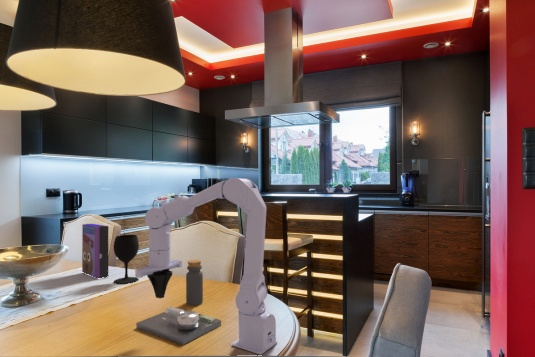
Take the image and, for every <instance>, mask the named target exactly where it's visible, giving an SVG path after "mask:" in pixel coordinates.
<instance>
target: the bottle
mask: <svg viewBox="0 0 535 357" xmlns="http://www.w3.org/2000/svg"><path fill="white" fill-rule="evenodd" d="M201 262H202V260H201V259H191V260H187V264H188V265H187V267H186V270H188V272H187V273H185V274H186V275H185V290H186V292H185V295H186V296H185V300H186V301H185V302H186V305H187V306H192V307H194V306H199V305H202V304H203V303H204V296H203V295H204V294H203V293H204V279H203V278H204V274H203V272H202V271H201V269H202V268H203V266H202V264H201Z"/></svg>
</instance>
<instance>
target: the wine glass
mask: <svg viewBox="0 0 535 357" xmlns="http://www.w3.org/2000/svg"><path fill="white" fill-rule="evenodd" d="M138 238H139V237H138V235H137V234H121V235H116V236H115V237H114V241H113V252H114V253H113V254H114V256H115V257H116V258H117V259H118V260H119V261H121V262H122V263H123V264H124V277H120V278H117V279H115V280H113V284H115V283H116V284H115V285H129V284H128V283H130V284H133V282H134V283H137V282H139V279H140V278H138V277H135V276H129V272H128V271H129V270H128V268H129V263H130V262H131V261H132V260H134V258H136V256H137V254H138V252H139V248H140V246H139V245H140V243H139V239H138ZM136 281H137V282H136Z"/></svg>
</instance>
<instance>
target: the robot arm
mask: <svg viewBox="0 0 535 357" xmlns="http://www.w3.org/2000/svg"><path fill="white" fill-rule="evenodd" d="M216 199H226V200H227V201H228V202H230V203H232V204H234V205H237V206H238V207H239V208H240V209H241V210H242V211H243V213H245V214H246V229H245V243H244V244H245V246H244V261H243V273H242V274H243V275H242V277H241V281H240V284H239V291H238V293H237V294H236V296H235V305H236V308H237V310H238V339H236V340H235V341H233V342H232V343H231V346H233V347H236V348H239V349H243V350H246V351H248V352H250V353H254V354H257V355H263V354H264V353H265V352H267V351H268V350H270V349H271V348H272V347H274V346H275V345H276V344H277V343H278V340H277V339H276V338H277V330H276V327H277V325H276V321H277V320H276V318H275V315H274V314H273V313H270V312H269V311H268V310H267V308H266V307H267V306H266V304H265V302H264V301H265V300H266V298H267V295H268V288H267V286H266V281H265V280H266V278H265V275H264V257H265V240H266V224H267V223H266V222H267V221H266V220H267V209H268V208H267V204H266V203H265V201H264V199H263V197H262V195H261V193H260V191H259V188H258V186H257V184H255V183H254V182H253V181H252V180H250V179H249V178H245V177H244V178H238V177H231V178H229V179H228V178H227V180H222V181H220V182H217V183H215V184H213V185H211V186H209V187H207V188H206V189H203V190H201V191H199V192H197V193H196V194H193V195H191V196H186V195H180V194H179V195H175V196H174V199H172V200H171V201H168V202H162V203H161V204H160V207H158V206H155V207H154V206H152V207H151V208H149V209H148V210H147V211H146V213H145V215H144V221H145V224H146V225H147V226H148V239H149V240H148V252H149V253H148V258H149V260H148V265H145V266H142V267H140V268H137V269H135V270H134V271H135V276H134V277H137V278H138V279H141V278H143V277H146V276H147V278H148V279H149V281H150V283H151V285H152V288H153V291H154V296H155V298H156V299H160V300H161V299H164V298H165V295H166V290H167V287H168V284H169V282H170V279H171V278H172V276H173V271H172V269H175V268H181V267H183V266H182V264H183V263H182V262H183V261H182V259H175V260H171V227H172V226H171V225H172V224H173V223H175V222H177V221H179V220H181V219H184V218H186V217H188V216H190V215H192V214H193V212H194V211H195V208H197V207H199V206H201V205H205V204H207V203H209V202H211V201H214V200H216Z"/></svg>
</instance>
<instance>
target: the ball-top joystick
mask: <svg viewBox="0 0 535 357" xmlns="http://www.w3.org/2000/svg"><path fill="white" fill-rule="evenodd" d="M178 308H179V307H174V306H168V307H166V308H165V309H164V312H165V314H166V317H169V318H172V319H175V320H177V327H178V328H179V329H181V330H190V329H194V328H196V327H198V325H199V314H200V313H199V312H198V311H195V310H194V311H193V310H187V311H186V312H184V310H185V309H183V308H180V309H178ZM182 309H183V310H182Z"/></svg>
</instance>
